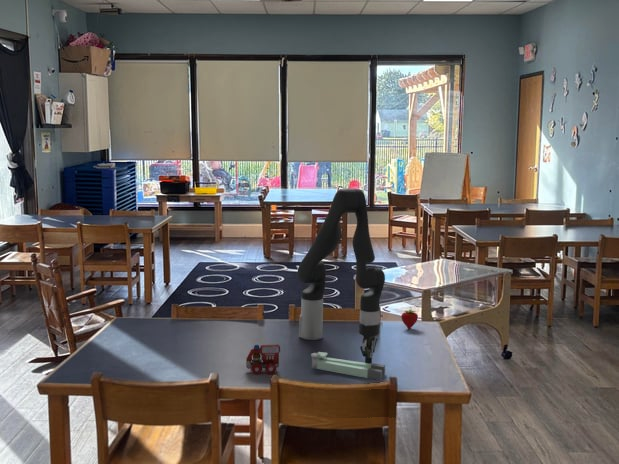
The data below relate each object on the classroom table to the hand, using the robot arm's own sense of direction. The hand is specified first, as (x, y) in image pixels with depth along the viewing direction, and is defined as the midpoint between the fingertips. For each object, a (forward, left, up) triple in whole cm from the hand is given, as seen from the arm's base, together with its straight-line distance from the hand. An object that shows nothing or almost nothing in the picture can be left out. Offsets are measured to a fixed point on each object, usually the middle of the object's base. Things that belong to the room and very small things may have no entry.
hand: (368, 365), depth 264 cm
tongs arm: (-7, -5, -1) cm, 8 cm away
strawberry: (-1, +56, -2) cm, 56 cm away
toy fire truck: (-35, -19, -2) cm, 39 cm away
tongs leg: (-6, -7, -2) cm, 9 cm away
